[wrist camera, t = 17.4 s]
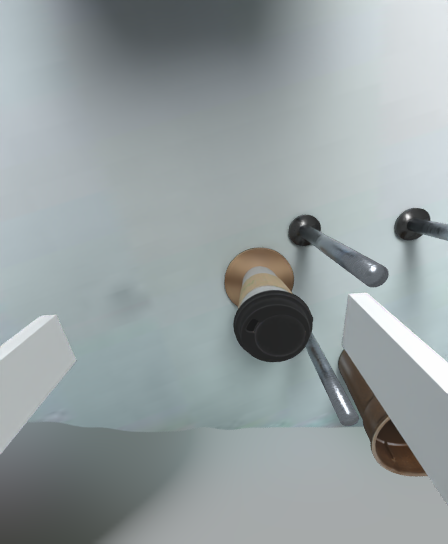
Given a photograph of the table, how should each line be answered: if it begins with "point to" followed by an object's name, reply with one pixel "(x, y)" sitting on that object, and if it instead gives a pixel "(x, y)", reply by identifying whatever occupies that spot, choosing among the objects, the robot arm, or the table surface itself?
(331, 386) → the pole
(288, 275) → the coaster
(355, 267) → the pole corner
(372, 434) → the plant pot
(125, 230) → the table surface
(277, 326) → the coffee cup
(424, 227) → the pole outer
